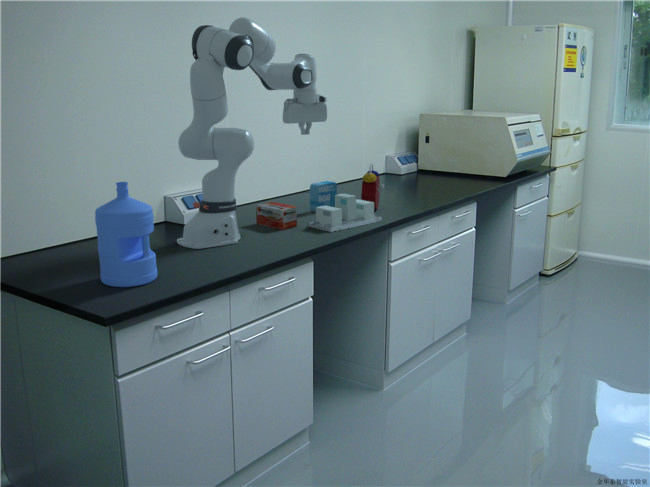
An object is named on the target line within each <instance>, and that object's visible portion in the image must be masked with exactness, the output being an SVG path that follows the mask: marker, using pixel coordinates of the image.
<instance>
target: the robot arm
mask: <svg viewBox="0 0 650 487" xmlns="http://www.w3.org/2000/svg"><path fill="white" fill-rule="evenodd" d="M191 49H192V50H191V51H192V52H191V53H192V56H193V59H194V62H193V63H192V64H191V66H190V69H189V71H190V72H189V73H190V74H189V86H190V94H191V100H192V106H193V118H192V121H191V123H190V124H189V125H188V127H186V129H184V130H182V132H181V133H180V136H179V138H178V141H177V142H178V148H179V149H178V150H179V151H180V153H181V155H182V156H183V157H184V158H188V159H191V160H196V161H218V165H217V167H216V168H214V169H211V170H210V171H207V172H206V173H205V174H204V175H203V177H202V180H201V187H202V188H201V189H202V190H201V191H202V192H201V193H202V200H201V201H200V202H198V201H193V202H192V203H193V204H192V205H193V208H196V209H198V212H197V213H195V214H194V216H193V217H192V218H191V219H189V221H187V222H186V223H185V225H184V227H183V231H182V237H180V238H177V239H176V243H177V244H178V245H179V246H180V247H181V246H182V247H185V248H189V249H196V250H197V249H198V250H200V249H206V248H213V247H221V246H226V245H227V246H228V245H233V244H238V243H239V240H240V239H241V234H240V230H239V228H238V220H237V216H236V215H237V214H236V213H237V199H236V198H235V195H236V194H235V183H236V182H235V181H236V175H237V172H238V170H239V167H241V165H242V164H243V163H244V162H245V161H246V160H247V159H248V158H249V157H250V156H251V155H252V153H253V151H254V149H255V140H254V138H253V135H252V133H251V132H250V131H249V130H246V129H244V128H236V127H215V125H217V124H218V123H220V122H222V121H223V120H224V119H226V117H227V115H228V113H229V107H228V106H229V105H228V99H227V90H226V85H225V80H224V70H225V68H229V69H230V70H232V71H243V70H245V69H246V68H248V67H249V69H251V71H252V72H253V73H254V74H255V75H256V76H257V77H258V79H259V80H260V82H261V85H263V87H264V88H265V90H268V91H279V90H280V91H281V90H284V91H286V90H287V91H289V90H293V98H287V99H286V100H284V102H283V110H282V122H283V123H284V124H288V125H289V124H290V125H292V124H298V127H299V129H300V135H301V136H306V135H310V131H311V129H312V125H313V123H322V122H326V121H327V119H328V108H327V107H328V106H327V104H326V103H327V100H328V99H327V97H326V96H324V95H322V94H319V93H317V87H316V86H317V85H316V82H317V64H316V59H315V56H313V55H311V54H307V53H297V54H295V55H294V60H292V61H291V62H283V63H282V62H276V63H275V62H271V60H272V59H273V58H274V56H275V53H276V40H275V39H274V37H273V36H272V35H271V34H270V33H269V32H268V31H267V30H266V29H265V28H264V27H263V26H261V25H260V24H258V23H257V22H255V21H254V20H253V19H250V18H248V17H238V18H236V19H234V20H233V21H232V22H231V24H230V26H229V28H228V29H225V28H221V27H217V26H214V25H211V24H210V25H209V24H206V25H200V26H198V27H197V28H196V29H195V30H194V32H193V34H192V37H191Z"/></svg>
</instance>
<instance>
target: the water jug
mask: <svg viewBox="0 0 650 487" xmlns="http://www.w3.org/2000/svg"><path fill="white" fill-rule="evenodd" d="M128 184H129V183H128V182H127V181H119V182H115V185H116V198H115V197H114V198H113V199H112V200H109V201H108V202H107V203H105V204H102V205H100V206H99V207H97V208H96V209H95V211H94V214H95V215H94V216H95V218H94V220H95V221H94V222H95V227H96V234H97V252H98V258H99V268H100V274H99V276H100V280H101V282H102V283H103V285H106V286H109V287H111V288H112V287H114V288H131V287H134V288H135V287H138V286H144V285H147V284H150V283H151V282H154V281H155V280H156V279H157V277H158V268H157V255H156V253H155V251H153V250H152V249H151V246H150V235H151V234H152V233H153V232H154V230H155V227H154V226H155V225H154V221H155V220H154V218H155V217H154V212H153V207H152V206H151V205H150V204H148V203H145V202H143V201H140V200H138V199H135V198H133V197H131V196H130V195H129V186H128Z"/></svg>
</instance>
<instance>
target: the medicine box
mask: <svg viewBox="0 0 650 487" xmlns="http://www.w3.org/2000/svg"><path fill="white" fill-rule="evenodd" d="M297 209H298V206H297V205H290V204H285V203H281V202H276V201H269V202H264V203H260V204H256V208H255V211H256V212H255V216H256V217H255V219H256V224H257V225H260V226H265V227H267V228H268V227H269V228H273V229H277V230H283V231H285V230H287V229H291V228H296V227H298V210H297Z"/></svg>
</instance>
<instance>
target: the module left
mask: <svg viewBox="0 0 650 487" xmlns="http://www.w3.org/2000/svg"><path fill="white" fill-rule="evenodd" d="M315 221H316V222H317V221H319V223H320V224H324V225H326V224H330V226H332V227H333V226H337V225H342V209H340V208H335V207H330V206H326V205H325V206H320V207H316V212H315Z"/></svg>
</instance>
